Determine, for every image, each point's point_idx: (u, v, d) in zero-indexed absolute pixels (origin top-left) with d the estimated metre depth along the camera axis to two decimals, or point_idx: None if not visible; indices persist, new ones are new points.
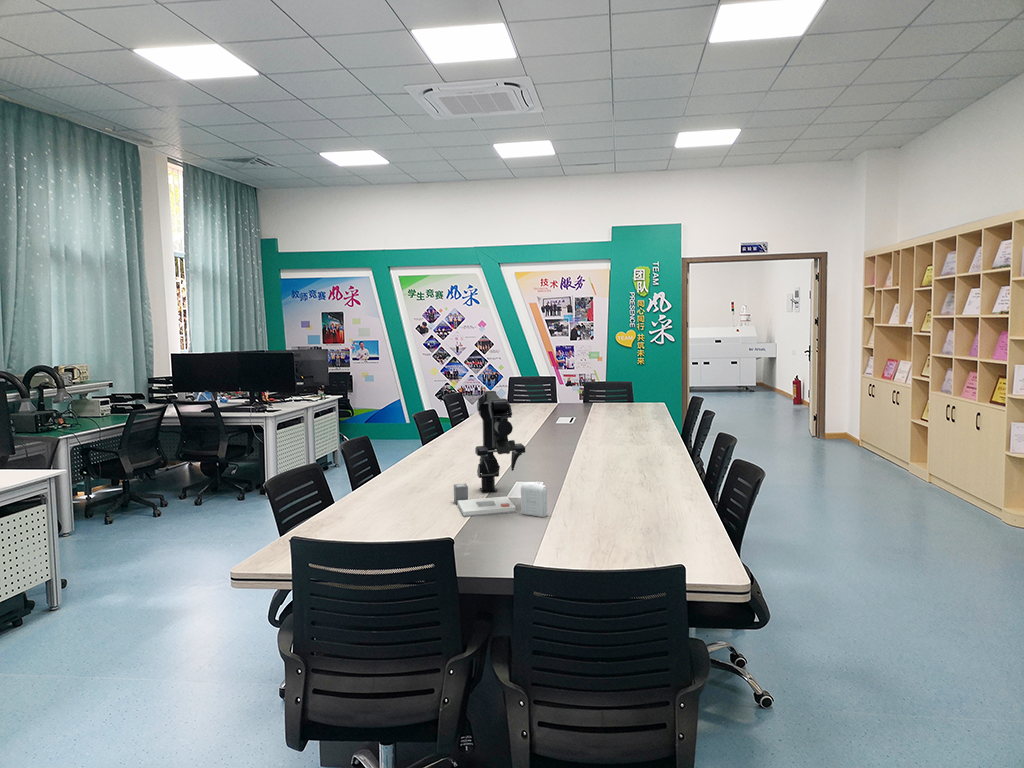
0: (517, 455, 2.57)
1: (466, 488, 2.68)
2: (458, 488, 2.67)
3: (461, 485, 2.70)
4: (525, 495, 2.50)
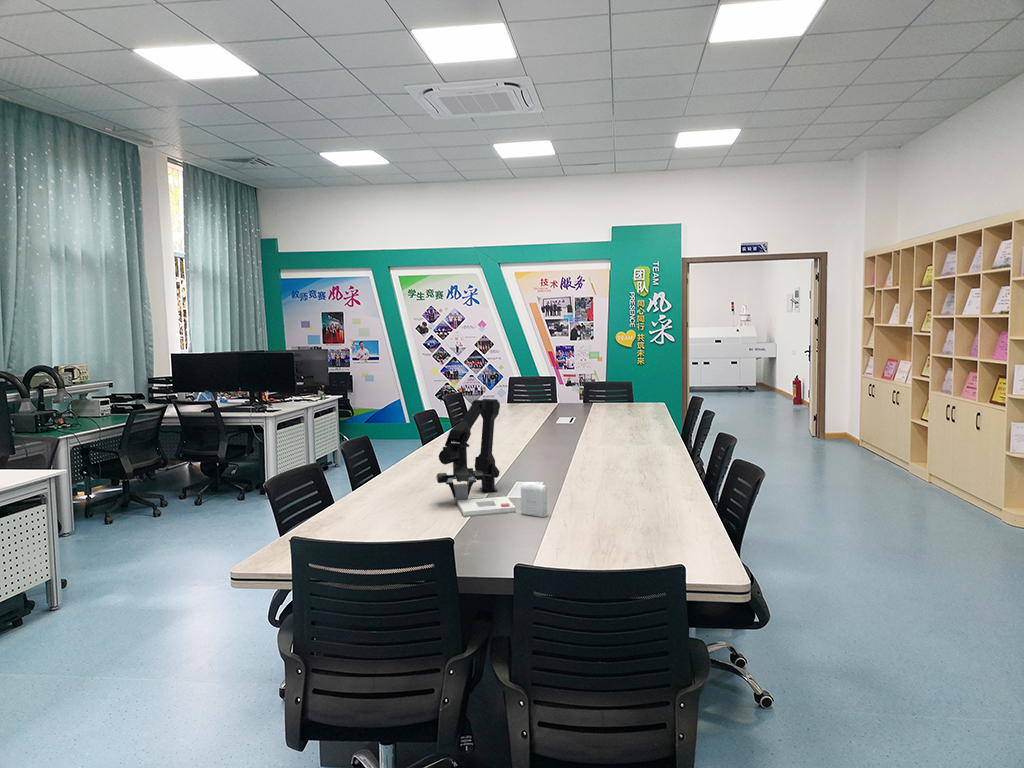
0: (472, 482, 2.68)
1: (466, 488, 2.68)
2: (458, 488, 2.67)
3: (461, 485, 2.70)
4: (525, 495, 2.50)
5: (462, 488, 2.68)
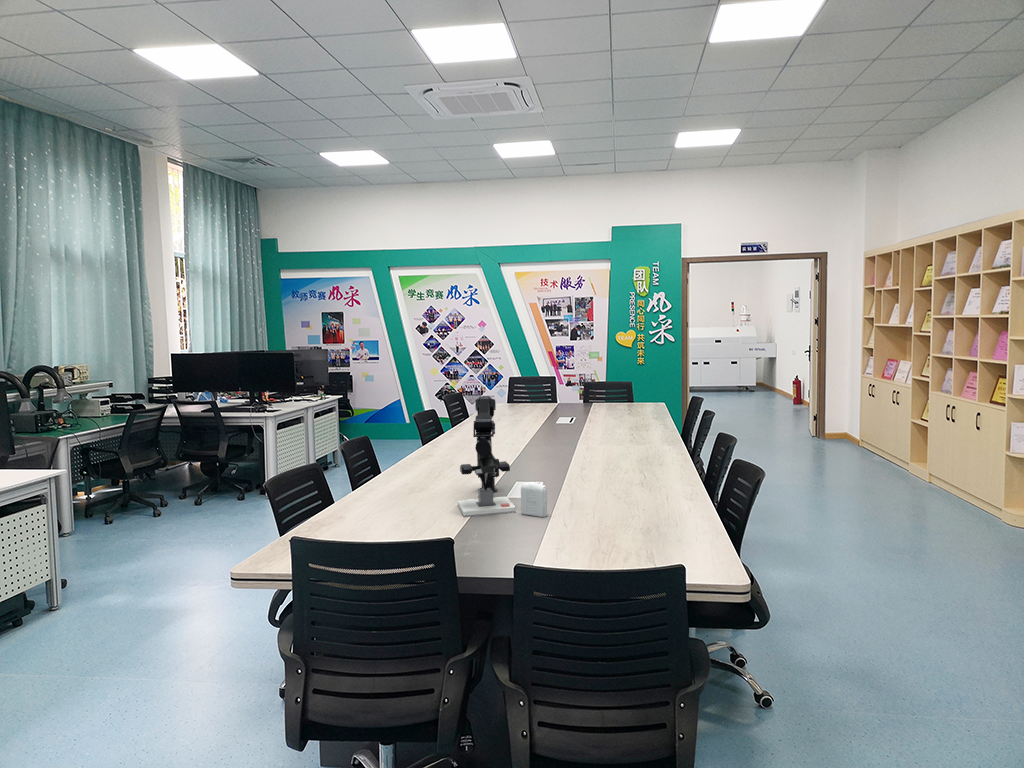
0: (490, 474, 2.57)
1: (491, 492, 2.58)
2: (483, 492, 2.57)
3: None
4: (525, 495, 2.50)
5: (487, 492, 2.58)
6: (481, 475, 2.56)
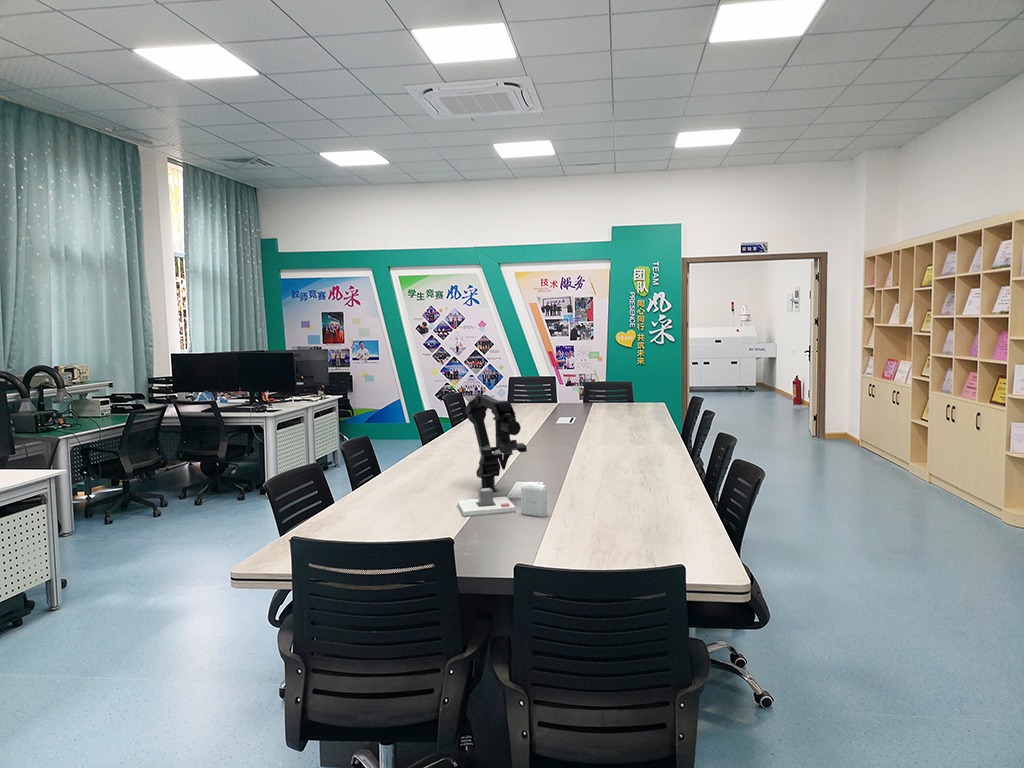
0: (508, 455, 2.72)
1: (491, 492, 2.58)
2: (483, 492, 2.57)
3: (486, 489, 2.60)
4: (525, 495, 2.50)
5: (487, 492, 2.58)
6: (499, 455, 2.71)
